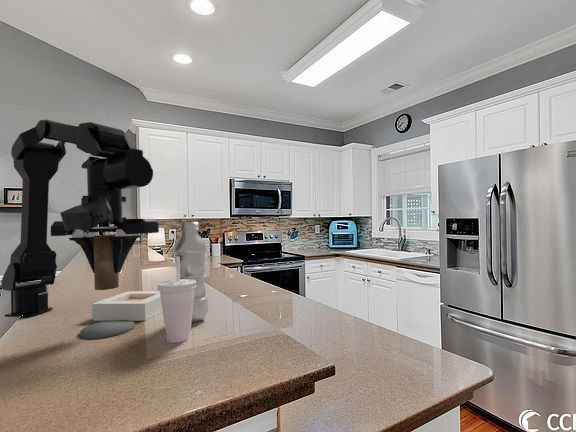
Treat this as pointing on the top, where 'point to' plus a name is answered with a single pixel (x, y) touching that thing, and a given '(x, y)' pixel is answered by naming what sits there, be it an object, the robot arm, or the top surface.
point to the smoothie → (177, 306)
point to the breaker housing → (128, 307)
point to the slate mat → (107, 329)
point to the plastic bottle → (193, 265)
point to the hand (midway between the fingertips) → (106, 272)
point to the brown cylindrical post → (104, 263)
